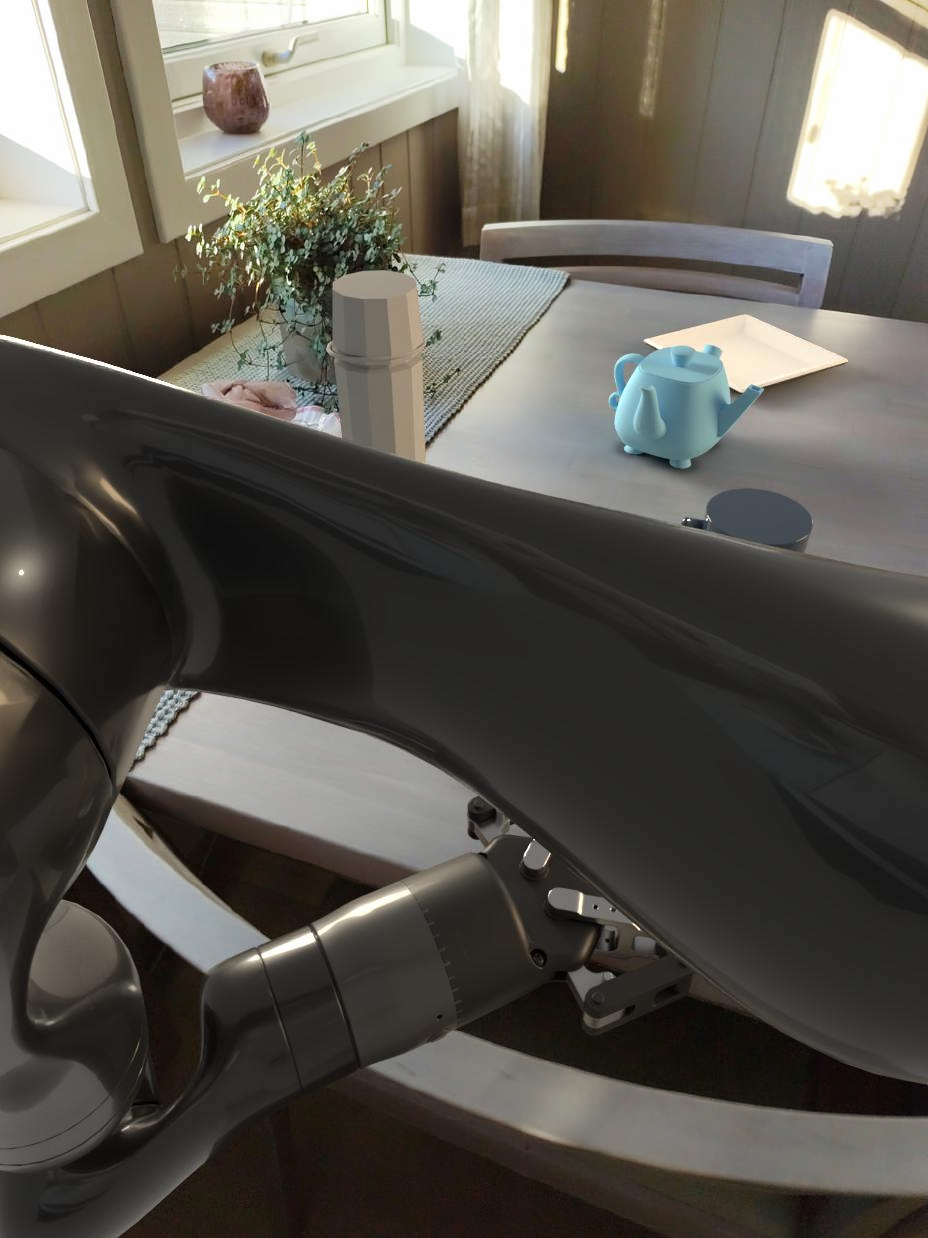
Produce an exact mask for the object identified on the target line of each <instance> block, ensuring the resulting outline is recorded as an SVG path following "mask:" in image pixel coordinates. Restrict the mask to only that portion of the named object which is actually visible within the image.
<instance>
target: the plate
mask: <svg viewBox="0 0 928 1238" xmlns="http://www.w3.org/2000/svg"><path fill="white" fill-rule="evenodd" d="M643 343H644V344H645V346H647V347H649V348H652V349H654V351H656V350H659V349H662V348H666V347H674V346H689V347H691V348H694V349H695V350H696V351H698V352H702V351H703V349H704V347H705V345H713V346H716V347H718V348H720V349H721V350H722V354H721V356H720V360H721V361H722V363H723V366H724V369H725V372H726V376H727V380H728V384H729V389H730V391H732V392H734V393H737V394H738V395H741V394H742V393H744V392H745V391H746V389H747V387H748V386H750V385H751V384H753V385H755V386H758V387H761V388H763V389H764V390H765V389H766V388H770V387H775V386H777V385H780V384H783V383H787V382H790V381H793V380H796V379H800V378H804V377H807V376H810V375H813V374H817V373H820V372H823V371H827V370H830V369H834V368H838V367H841V366H844V365H846V364H847V363H848V362H849V360H848V359H847V358H845V357H844V356H841V355H840V354H838V353H835V352H832V351H830V350H828V349H826V348H824V347H821V346H819V345H817V344H815V343H813V342H810V341H808V340H806V339H804V338H801V337H798V336H797V335H794V334H792V333H790V332H788V331H785V330H783V329H782V328H781V329H780V328H778V327H777V326H774V325H772V324H769V323H767V322H765V321H764V320H760V319H758V318H756V317H754V316H752V315H750V314H739V315H736V316H732V317H727V318H723V319H720V320H716V321H713V322H712V321H711V322H709V323H708V322H707V323H703V324H700V325H696V326H692V327H687V328H683V329H680V330H677V331H672V332H667V333H665V334H660V335H657V336H652V337H648V338H646V339H644V340H643Z"/></svg>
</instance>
